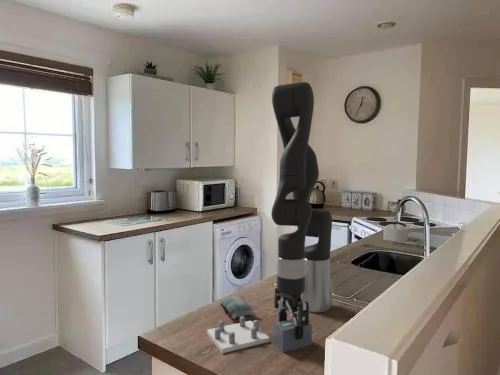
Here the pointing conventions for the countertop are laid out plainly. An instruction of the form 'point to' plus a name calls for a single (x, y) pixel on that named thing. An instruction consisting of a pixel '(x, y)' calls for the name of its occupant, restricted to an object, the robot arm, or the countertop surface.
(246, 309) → the packaged food
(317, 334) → the countertop surface
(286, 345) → the block
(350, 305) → the countertop surface
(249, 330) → the pegged holder plate
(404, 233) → the lumpy-topped squat cylinder
